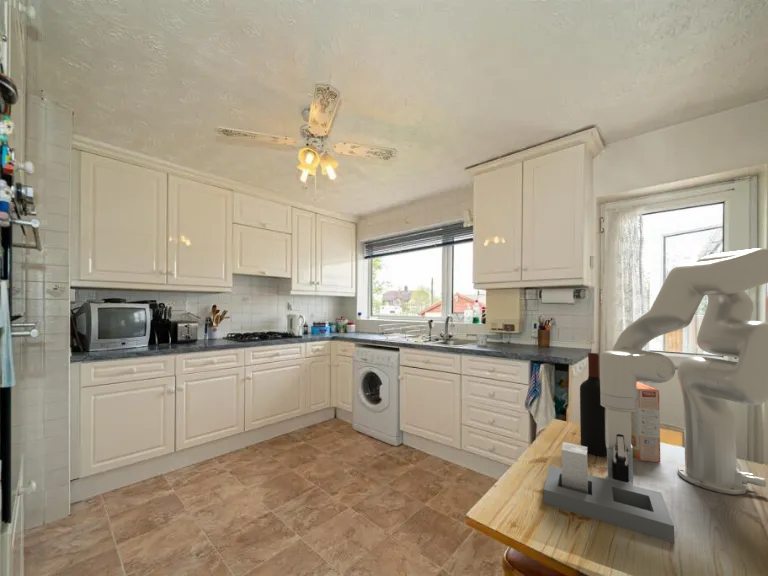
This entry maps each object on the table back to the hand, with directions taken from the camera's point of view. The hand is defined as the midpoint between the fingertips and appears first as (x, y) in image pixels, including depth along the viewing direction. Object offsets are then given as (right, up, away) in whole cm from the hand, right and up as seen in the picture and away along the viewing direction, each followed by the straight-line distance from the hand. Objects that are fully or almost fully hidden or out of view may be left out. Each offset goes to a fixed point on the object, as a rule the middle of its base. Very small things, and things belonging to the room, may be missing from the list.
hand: (619, 474), depth 82 cm
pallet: (-11, -2, -9) cm, 14 cm away
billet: (-15, -2, -7) cm, 16 cm away
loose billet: (0, -3, 0) cm, 3 cm away
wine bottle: (+6, -4, +19) cm, 21 cm away
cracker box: (+19, -4, +20) cm, 28 cm away
